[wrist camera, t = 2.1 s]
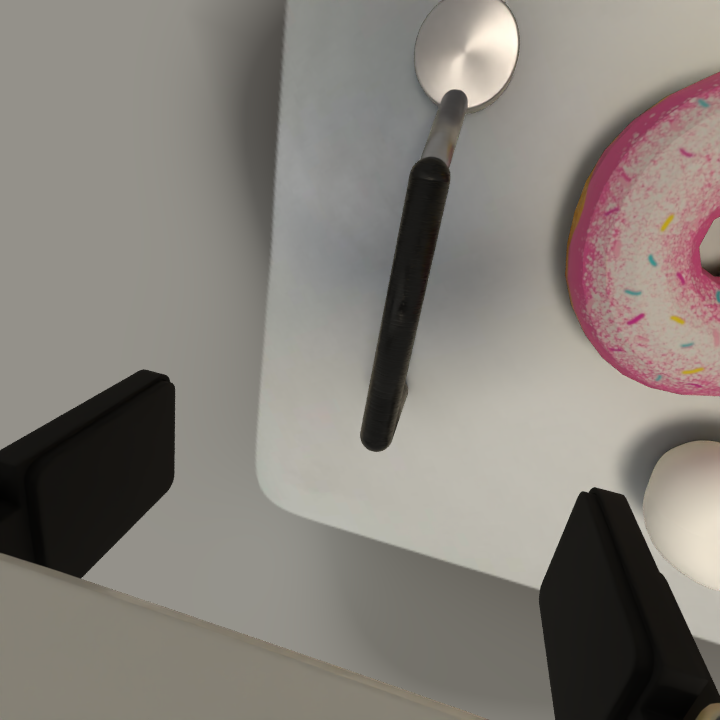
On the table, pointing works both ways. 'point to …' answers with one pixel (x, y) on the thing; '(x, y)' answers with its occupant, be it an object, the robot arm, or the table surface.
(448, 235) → the table surface
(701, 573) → the apple
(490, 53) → the ladle
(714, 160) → the donut
